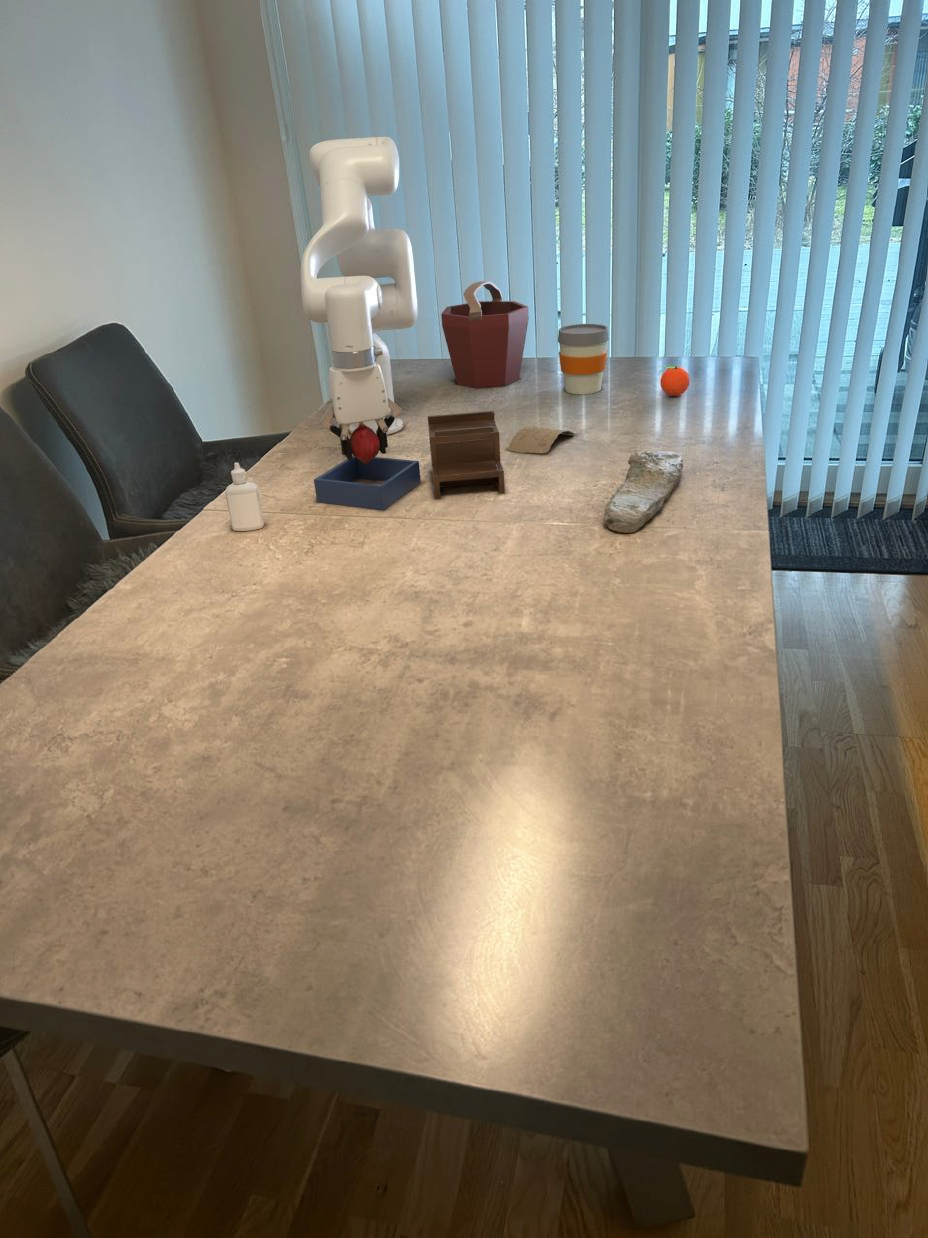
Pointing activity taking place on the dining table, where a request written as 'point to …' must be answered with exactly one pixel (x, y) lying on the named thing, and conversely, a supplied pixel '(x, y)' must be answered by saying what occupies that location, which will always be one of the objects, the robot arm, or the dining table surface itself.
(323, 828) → the dining table surface
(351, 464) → the crate
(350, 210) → the robot arm
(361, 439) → the onion
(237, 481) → the eye dropper bottle
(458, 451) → the step shelf
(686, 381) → the clementine
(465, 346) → the bucket
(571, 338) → the reusable coffee cup
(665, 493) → the elongated rock
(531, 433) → the clay tablet
